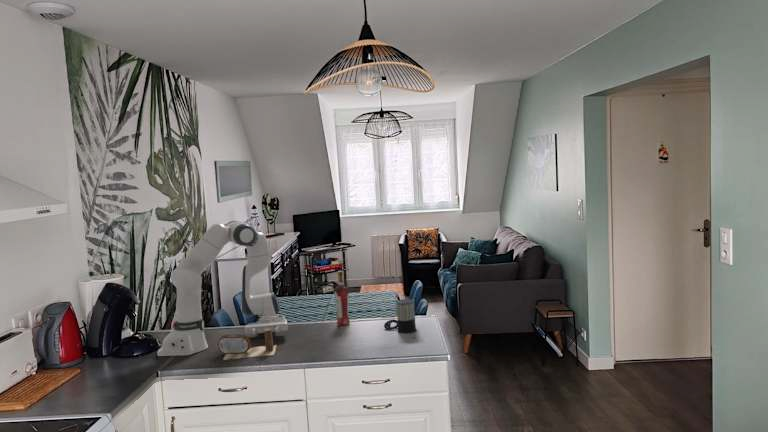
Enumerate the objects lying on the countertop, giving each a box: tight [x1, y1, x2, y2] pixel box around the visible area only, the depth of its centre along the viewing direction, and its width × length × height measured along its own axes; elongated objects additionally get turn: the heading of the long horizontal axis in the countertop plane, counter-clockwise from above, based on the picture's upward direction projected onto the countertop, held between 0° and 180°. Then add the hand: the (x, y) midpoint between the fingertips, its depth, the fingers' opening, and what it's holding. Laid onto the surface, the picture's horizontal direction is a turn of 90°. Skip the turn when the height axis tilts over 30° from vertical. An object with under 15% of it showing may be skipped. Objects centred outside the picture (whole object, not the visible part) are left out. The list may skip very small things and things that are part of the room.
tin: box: [217, 333, 252, 355], centre depth 259 cm, size 15×3×8 cm, turn 84°
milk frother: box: [383, 298, 417, 334], centre depth 282 cm, size 14×16×15 cm
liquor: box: [333, 270, 351, 327], centre depth 297 cm, size 7×7×28 cm
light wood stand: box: [223, 328, 277, 361], centre depth 260 cm, size 22×14×10 cm, turn 96°
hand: (265, 331), depth 271 cm, fingers open, 8 cm apart
